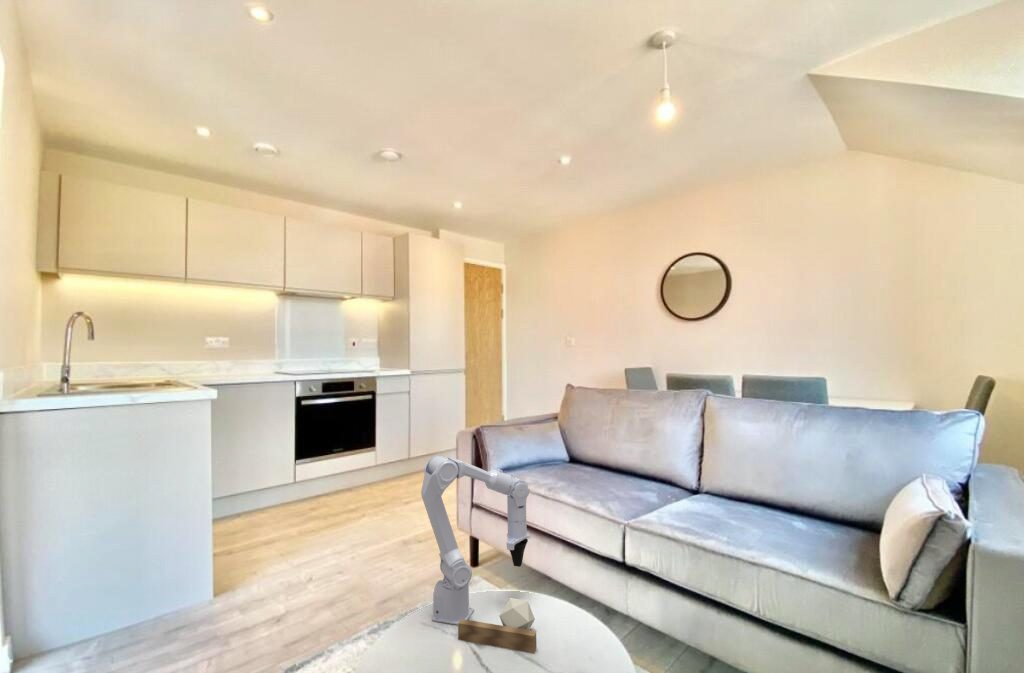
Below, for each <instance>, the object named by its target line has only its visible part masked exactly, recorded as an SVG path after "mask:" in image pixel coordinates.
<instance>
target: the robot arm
mask: <svg viewBox="0 0 1024 673" xmlns="http://www.w3.org/2000/svg"><path fill="white" fill-rule="evenodd" d="M423 471H424V472H423V473H424V475H423V480H422V485H421V486H422V487H421V491H420V492H421V493H420V495H421V498H422V502H423V504H424V508H425V511H426V514H427V516H428V519H429V522H430V526H431V527H432V531H433V534H434V537H435V540H436V543H437V546H438V549H439V555H438V556H439V558H440V561H439V562H440V563H439V564H440V566H439V569H440V571H441V573H442V574H443V578H442V579H440V580H438V581H437V582H436V584H435V586H434V590H433V594H432V595H433V597H432V598H433V602H432V607H433V608H432V610H433V611H432V612H433V613H432V614H433V616H432V618H431V620H432V621H433V622H439V623H444V624H451V625H456V626H458V623H459V621H460V620H461V619H465V620H469V618H470V617H471V615H472V614H473V613H474V611H475V608H471V607H470V605H469V604H470V597H469V594H470V592H469V591H470V589H469V587H470V585H469V583H470V582H471V580H472V577H473V571H472V568H471V566H469V565H468V563H466V561H465V557H464V556H463V554H462V552H461V550H460V548H459V546H458V543H457V540H456V537H455V534H454V532H453V529H452V525H451V522H450V519H449V515H448V513H447V510H446V507H445V504H444V501H443V497H442V496H443V494H444V492H445V490H446V489H447V488H448V487H449V486H451V484H452V483H453V482H454V481H455V480H456V479H458V480H460V479H461V478H463V477H464V476H465V477H469V478H471V479H475V480H477V481H479V482H483V483H484V484H485V486H486V488H487V489H488V490H491V491H493V492H497V493H500V494H502V495H505V496H506V497H507V498H506V500H507V507H506V508H507V533H506V537H507V539H506V540H507V542H506V550H507V551H509V552H510V555H511V560H512V564H513V566H514V567H522V564H523V558H524V554H525V553H524V552H525V549H526V547H527V544H528V543H529V541H528V539H531V534H530V533H528V532H527V531H528V530H527V500H528V499H527V498H528V496H529V494H530V491H531V489H530V488H529V486H528V484H527V482H526V481H524V480H522V479H520V478H518V477H516V475H514V474H507V473H505V472H504V471H503V470H502V469H500V468H497V469H496V468H495V469H492V470H489V471H487V470H485V469H482V468H480V467H478V466H476V465H472V463H471V464H470V463H468V462H466V461H463V460H461V459H457V458H453V457H448V456H447V457H445V456H444V455H441V454H436V455H434V456H432V457H430V459H429V460H428V462H427V463H426V465H425V467H424V468H423Z"/></svg>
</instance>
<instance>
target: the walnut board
mask: <svg viewBox="0 0 1024 673" xmlns="http://www.w3.org/2000/svg"><path fill="white" fill-rule="evenodd" d="M457 634H458V635H457V636H458V638H457V639H458V640H457V641H464V642H470V643H475V644H480V645H484V646H485V645H486V646H491V647H497V648H500V649H501V648H502V649H508V650H512V651H518V652H524V653H531V654H535V653H536V650H537V631H536V630H530V629H529V630H525V629H519V628H513V627H507V626H503V625H500V624H494V623H489V622H483V621H477V620H470V619H468V620H465V619H461V620H460V621H459V623H458V625H457Z"/></svg>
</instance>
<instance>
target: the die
mask: <svg viewBox="0 0 1024 673" xmlns="http://www.w3.org/2000/svg"><path fill="white" fill-rule="evenodd" d="M498 616H499V619H500V621H501V624H502V626H507V627H513V628H519V629H525V630H530V629H531V627H532V625H533V624H534V622H535V620H536V618H535V615H534V614H533V611H532V608H531V605H530V603H529V601H528V600H524V599H518V598H514V597H509V599H508V600H507V601H506V604H505V605H504V607H503V608H502V610H501V612H500V613H499V615H498Z"/></svg>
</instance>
